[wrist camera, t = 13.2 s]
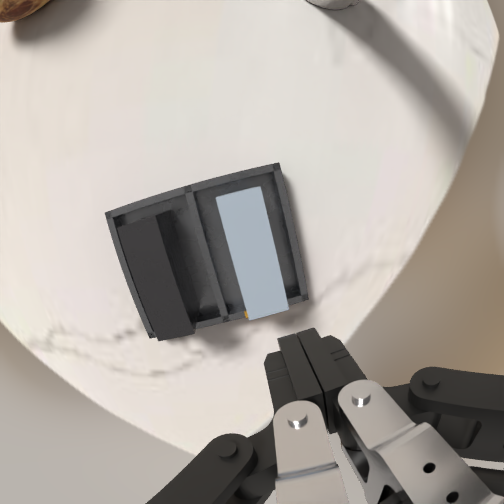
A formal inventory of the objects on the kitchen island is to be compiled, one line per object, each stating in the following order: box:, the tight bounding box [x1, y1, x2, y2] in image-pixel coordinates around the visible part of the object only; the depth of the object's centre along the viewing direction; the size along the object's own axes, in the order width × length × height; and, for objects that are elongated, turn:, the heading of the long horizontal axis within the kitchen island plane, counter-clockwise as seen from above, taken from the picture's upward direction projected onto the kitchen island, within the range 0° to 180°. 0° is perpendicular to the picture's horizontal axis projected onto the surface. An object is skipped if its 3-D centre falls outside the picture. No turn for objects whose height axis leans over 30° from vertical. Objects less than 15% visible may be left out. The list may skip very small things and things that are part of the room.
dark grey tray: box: [105, 163, 309, 341], centre depth 28 cm, size 20×16×8 cm
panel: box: [216, 187, 289, 321], centre depth 28 cm, size 4×12×7 cm, turn 14°
